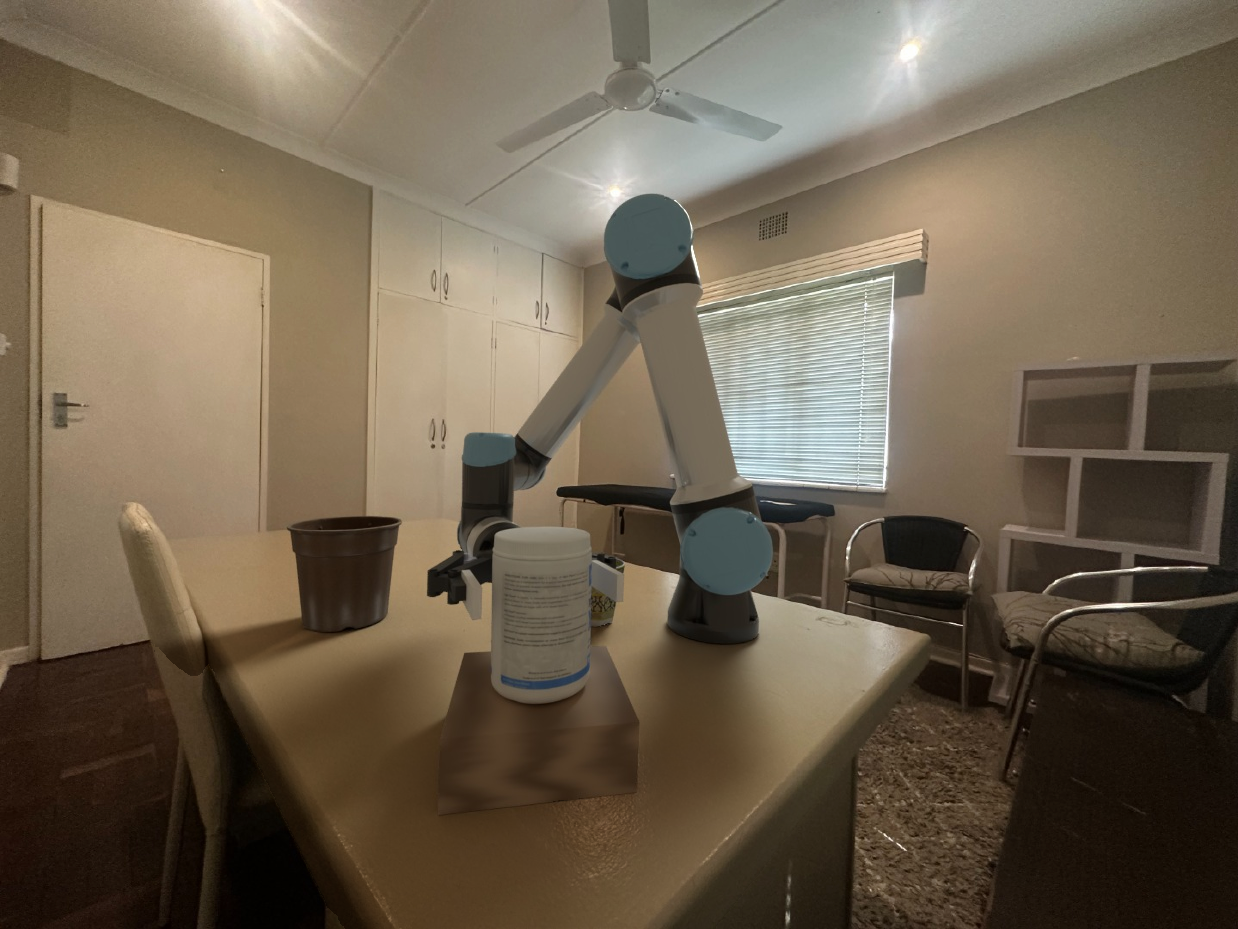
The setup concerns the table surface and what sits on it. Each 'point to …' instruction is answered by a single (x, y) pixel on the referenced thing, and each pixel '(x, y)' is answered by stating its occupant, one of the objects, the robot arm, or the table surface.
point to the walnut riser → (536, 742)
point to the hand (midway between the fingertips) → (554, 595)
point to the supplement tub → (541, 613)
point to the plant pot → (344, 570)
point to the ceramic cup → (603, 603)
